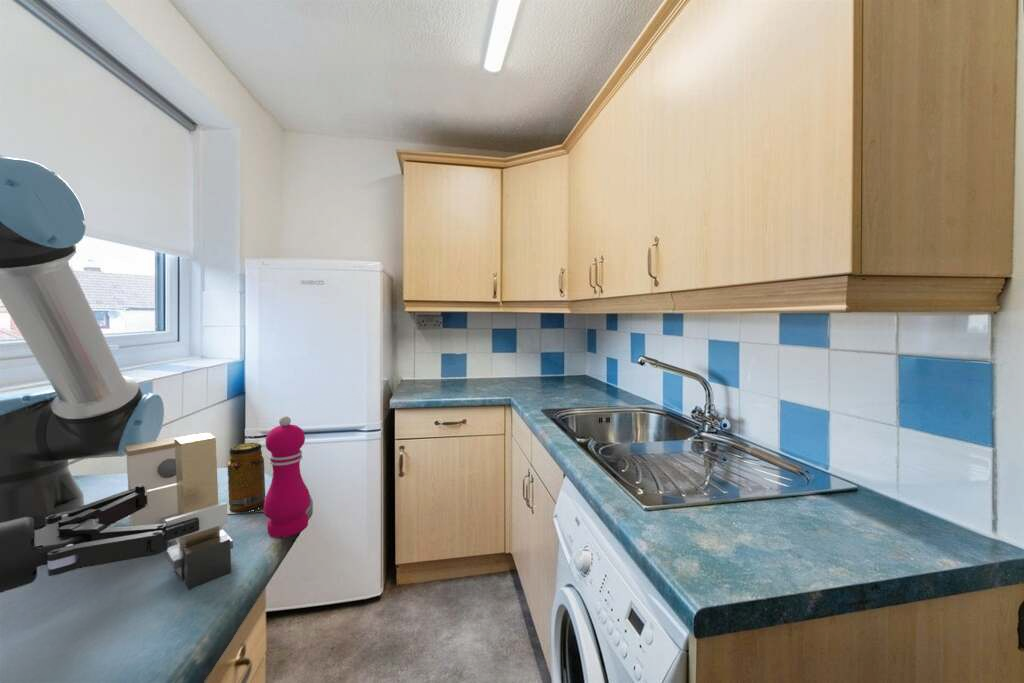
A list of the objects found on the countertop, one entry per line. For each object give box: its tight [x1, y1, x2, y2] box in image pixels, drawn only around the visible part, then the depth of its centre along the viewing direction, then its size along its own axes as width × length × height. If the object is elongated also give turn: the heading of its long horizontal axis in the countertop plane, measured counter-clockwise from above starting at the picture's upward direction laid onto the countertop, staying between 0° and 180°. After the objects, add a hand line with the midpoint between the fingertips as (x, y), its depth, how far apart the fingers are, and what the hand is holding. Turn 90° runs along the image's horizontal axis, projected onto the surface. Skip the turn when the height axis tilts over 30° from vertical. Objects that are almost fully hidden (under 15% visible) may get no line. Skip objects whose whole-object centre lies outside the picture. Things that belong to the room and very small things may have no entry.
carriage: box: [165, 432, 234, 582], centre depth 60 cm, size 5×7×19 cm
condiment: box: [227, 442, 266, 515], centre depth 80 cm, size 7×8×12 cm
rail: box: [161, 513, 232, 591], centre depth 65 cm, size 24×5×5 cm, turn 50°
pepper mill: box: [263, 415, 311, 539], centre depth 71 cm, size 7×7×20 cm
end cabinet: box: [124, 433, 199, 526], centre depth 74 cm, size 5×10×15 cm, turn 140°
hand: (213, 498), depth 61 cm, fingers open, 13 cm apart
